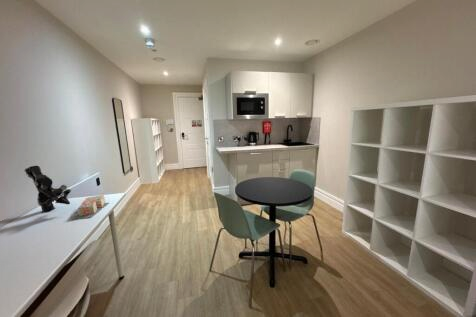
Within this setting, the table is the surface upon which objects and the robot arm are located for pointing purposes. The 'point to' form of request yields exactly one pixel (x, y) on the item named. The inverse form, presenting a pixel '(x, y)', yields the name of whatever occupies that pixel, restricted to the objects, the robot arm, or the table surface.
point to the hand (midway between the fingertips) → (69, 203)
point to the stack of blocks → (91, 205)
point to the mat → (89, 214)
